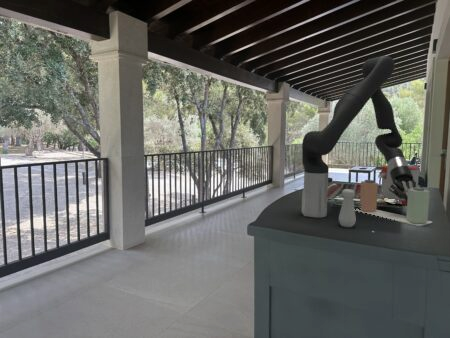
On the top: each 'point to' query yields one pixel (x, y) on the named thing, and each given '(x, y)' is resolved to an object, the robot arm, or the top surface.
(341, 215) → the salt shaker
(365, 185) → the light brown tall block
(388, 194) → the red roofed toy house
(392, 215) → the button board
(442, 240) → the top surface
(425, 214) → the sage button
